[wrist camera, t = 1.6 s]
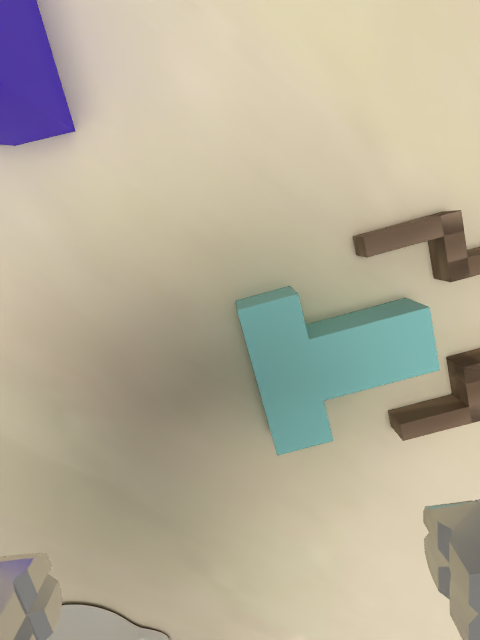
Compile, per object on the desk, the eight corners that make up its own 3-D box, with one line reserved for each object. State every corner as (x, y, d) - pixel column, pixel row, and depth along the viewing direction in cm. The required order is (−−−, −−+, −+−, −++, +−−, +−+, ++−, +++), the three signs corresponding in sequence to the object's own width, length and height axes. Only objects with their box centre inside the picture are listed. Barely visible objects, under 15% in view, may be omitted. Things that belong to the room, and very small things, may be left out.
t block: (421, 390, 35) (446, 411, 31) (271, 430, 35) (277, 455, 31) (398, 256, 32) (421, 260, 28) (235, 300, 32) (237, 310, 29)
